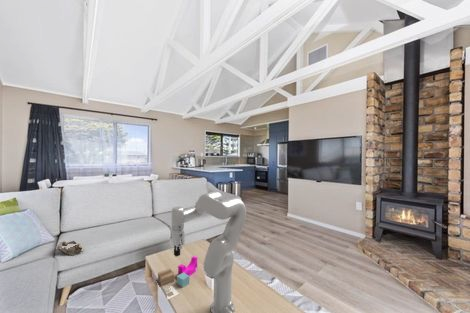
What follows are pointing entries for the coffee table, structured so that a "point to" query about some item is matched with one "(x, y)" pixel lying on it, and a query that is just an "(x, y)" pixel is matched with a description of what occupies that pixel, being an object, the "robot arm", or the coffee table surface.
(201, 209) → the robot arm
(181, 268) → the magenta curved piece
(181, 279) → the teal cube
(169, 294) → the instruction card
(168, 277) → the base brick
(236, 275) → the coffee table surface
